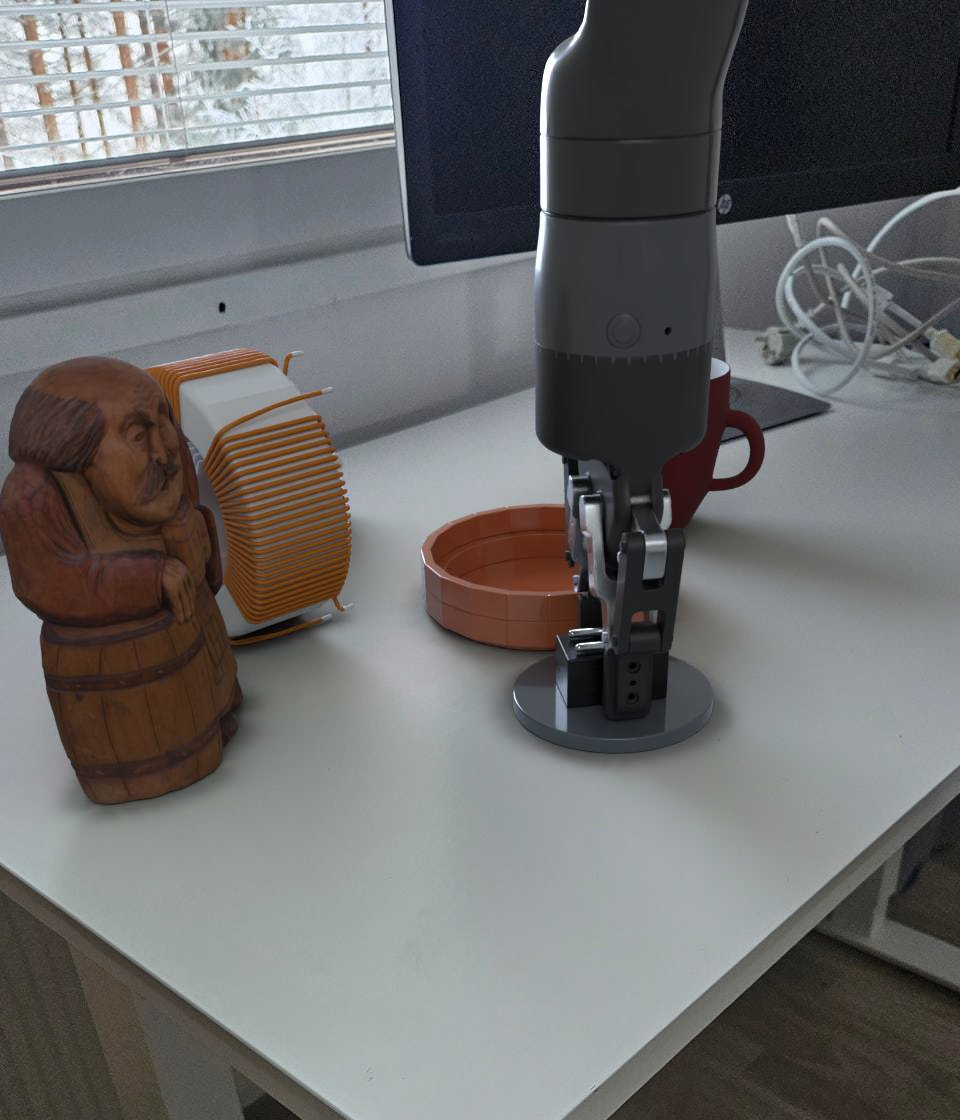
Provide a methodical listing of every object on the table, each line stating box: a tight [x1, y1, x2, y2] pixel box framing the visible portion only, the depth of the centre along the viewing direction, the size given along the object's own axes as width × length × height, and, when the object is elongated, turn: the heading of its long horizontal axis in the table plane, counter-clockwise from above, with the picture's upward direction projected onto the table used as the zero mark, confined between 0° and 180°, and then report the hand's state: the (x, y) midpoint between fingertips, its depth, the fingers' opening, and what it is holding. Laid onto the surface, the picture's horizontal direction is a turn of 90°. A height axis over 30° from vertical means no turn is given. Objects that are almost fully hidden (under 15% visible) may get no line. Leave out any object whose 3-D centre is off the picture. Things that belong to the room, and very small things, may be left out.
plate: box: [512, 654, 714, 754], centre depth 62 cm, size 10×10×1 cm
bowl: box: [420, 503, 644, 651], centre depth 72 cm, size 14×14×4 cm
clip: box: [555, 627, 670, 708], centre depth 61 cm, size 5×3×3 cm, turn 98°
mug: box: [661, 356, 766, 530], centre depth 80 cm, size 11×8×10 cm
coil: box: [143, 347, 356, 646], centre depth 68 cm, size 7×15×15 cm, turn 40°
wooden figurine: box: [0, 355, 244, 805], centre depth 55 cm, size 12×6×18 cm, turn 173°
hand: (612, 686), depth 62 cm, fingers open, 5 cm apart
